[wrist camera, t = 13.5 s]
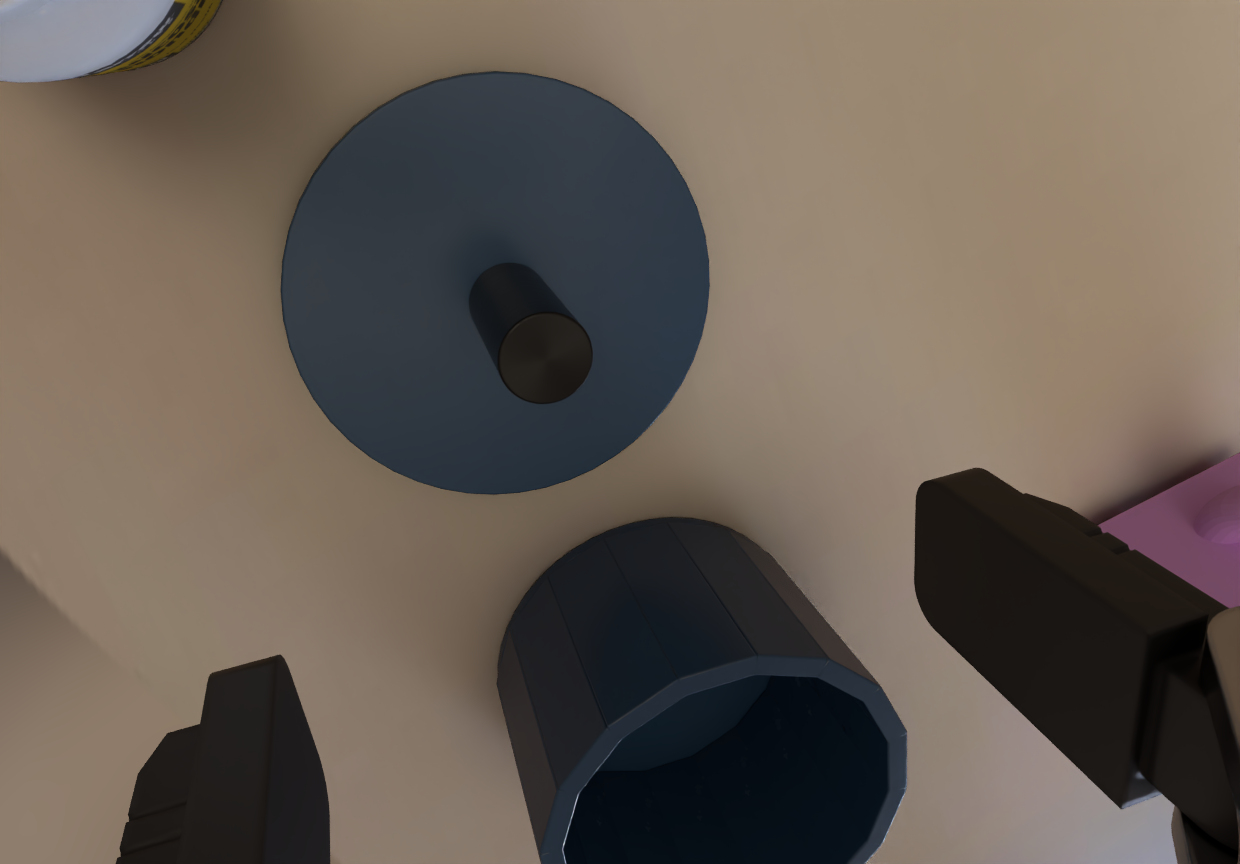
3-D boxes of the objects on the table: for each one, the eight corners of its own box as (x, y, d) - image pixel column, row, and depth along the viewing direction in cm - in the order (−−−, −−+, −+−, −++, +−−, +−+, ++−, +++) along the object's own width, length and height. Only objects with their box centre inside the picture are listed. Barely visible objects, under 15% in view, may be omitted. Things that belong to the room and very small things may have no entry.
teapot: (986, 464, 36) (1189, 598, 28) (1263, 326, 38) (1539, 413, 29) (1044, 763, 45) (1214, 937, 36) (1270, 641, 46) (1486, 782, 37)
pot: (527, 811, 37) (576, 1010, 29) (468, 565, 32) (509, 729, 24) (797, 724, 39) (907, 888, 32) (782, 482, 34) (908, 609, 27)
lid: (346, 521, 30) (350, 639, 24) (222, 110, 24) (187, 134, 19) (714, 430, 32) (797, 517, 27) (676, 38, 27) (770, 39, 21)
